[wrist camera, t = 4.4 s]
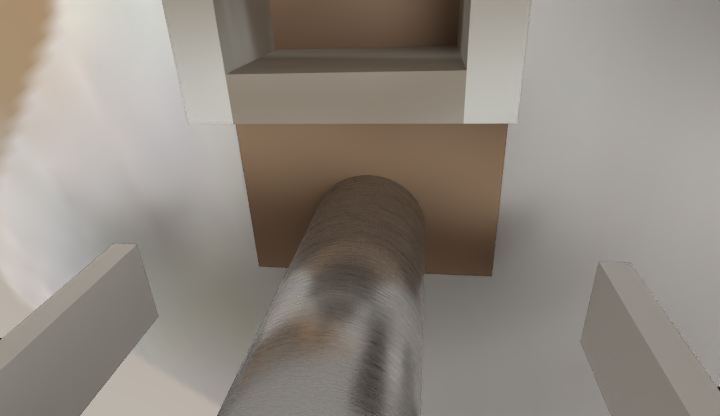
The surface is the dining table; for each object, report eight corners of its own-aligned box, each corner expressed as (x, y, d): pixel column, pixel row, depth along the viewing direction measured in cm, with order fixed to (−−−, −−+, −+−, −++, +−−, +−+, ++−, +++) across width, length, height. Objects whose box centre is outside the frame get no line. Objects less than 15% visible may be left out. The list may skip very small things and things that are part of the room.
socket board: (488, 258, 18) (508, 354, 14) (268, 250, 19) (218, 336, 15) (538, -250, 11) (612, -401, 7) (198, -214, 13) (66, -320, 8)
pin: (424, 273, 17) (413, 737, 7) (320, 269, 18) (163, 691, 7) (426, 175, 16) (417, 599, 5) (311, 174, 16) (87, 552, 6)
